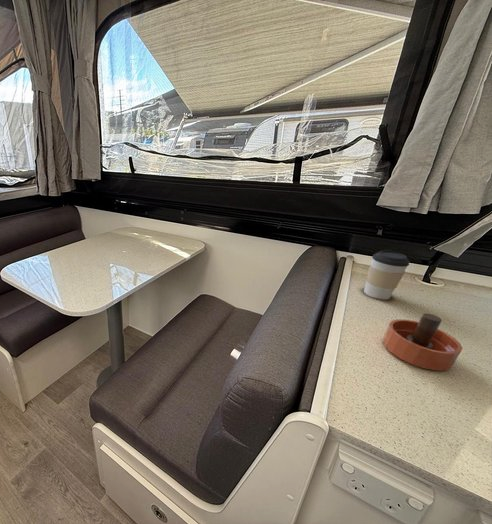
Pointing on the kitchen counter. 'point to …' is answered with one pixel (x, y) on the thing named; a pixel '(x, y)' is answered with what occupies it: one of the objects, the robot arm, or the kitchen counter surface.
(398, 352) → the bowl
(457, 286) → the kitchen counter surface
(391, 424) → the kitchen counter surface
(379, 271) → the coffee cup
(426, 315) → the pepper mill
